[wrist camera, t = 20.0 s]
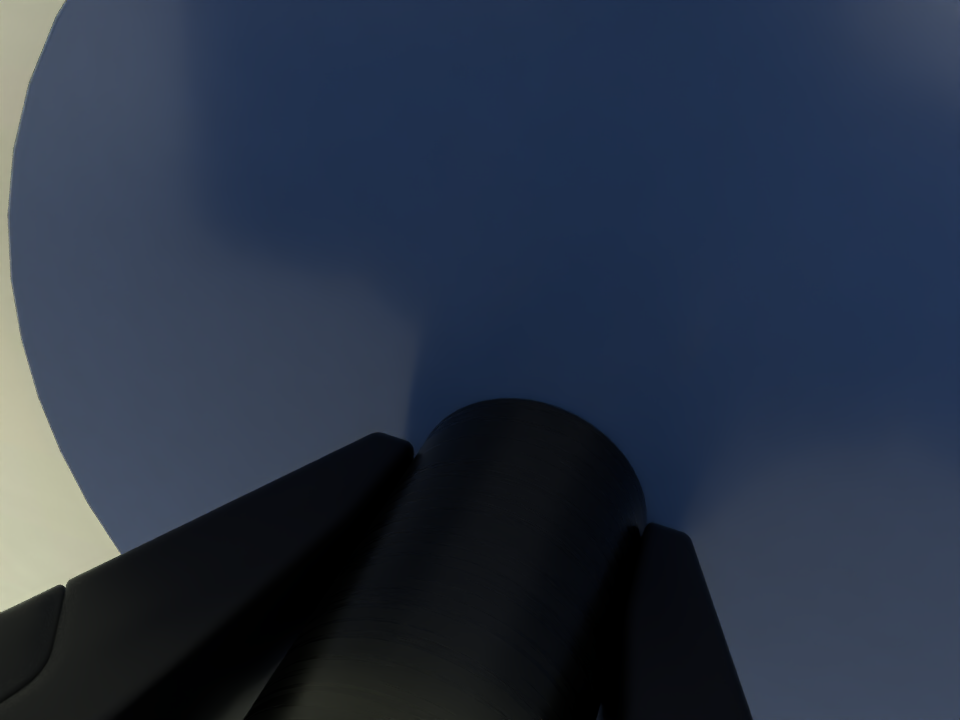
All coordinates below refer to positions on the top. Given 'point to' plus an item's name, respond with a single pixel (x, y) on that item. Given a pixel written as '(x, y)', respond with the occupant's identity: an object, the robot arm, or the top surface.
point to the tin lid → (522, 323)
